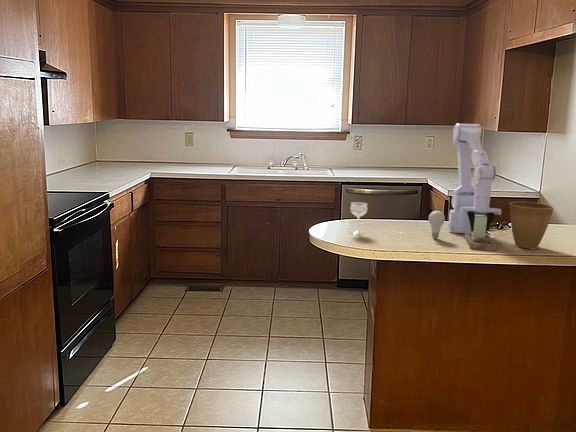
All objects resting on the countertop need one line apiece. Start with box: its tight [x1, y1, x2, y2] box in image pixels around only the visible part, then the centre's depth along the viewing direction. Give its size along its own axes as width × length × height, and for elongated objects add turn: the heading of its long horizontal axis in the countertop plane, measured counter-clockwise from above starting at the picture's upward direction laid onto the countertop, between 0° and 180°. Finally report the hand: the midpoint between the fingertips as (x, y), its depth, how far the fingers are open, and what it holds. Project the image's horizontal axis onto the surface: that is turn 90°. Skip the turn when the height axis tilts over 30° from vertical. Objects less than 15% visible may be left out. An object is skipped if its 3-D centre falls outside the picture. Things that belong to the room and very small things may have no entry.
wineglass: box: [349, 201, 368, 235], centre depth 219 cm, size 7×7×12 cm
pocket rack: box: [464, 233, 497, 252], centre depth 208 cm, size 9×17×2 cm, turn 169°
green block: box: [471, 214, 487, 238], centre depth 212 cm, size 4×4×9 cm
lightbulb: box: [428, 210, 446, 239], centre depth 214 cm, size 6×6×11 cm
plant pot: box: [509, 201, 554, 250], centre depth 205 cm, size 15×15×16 cm
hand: (478, 231), depth 212 cm, fingers closed on green block, 4 cm apart
